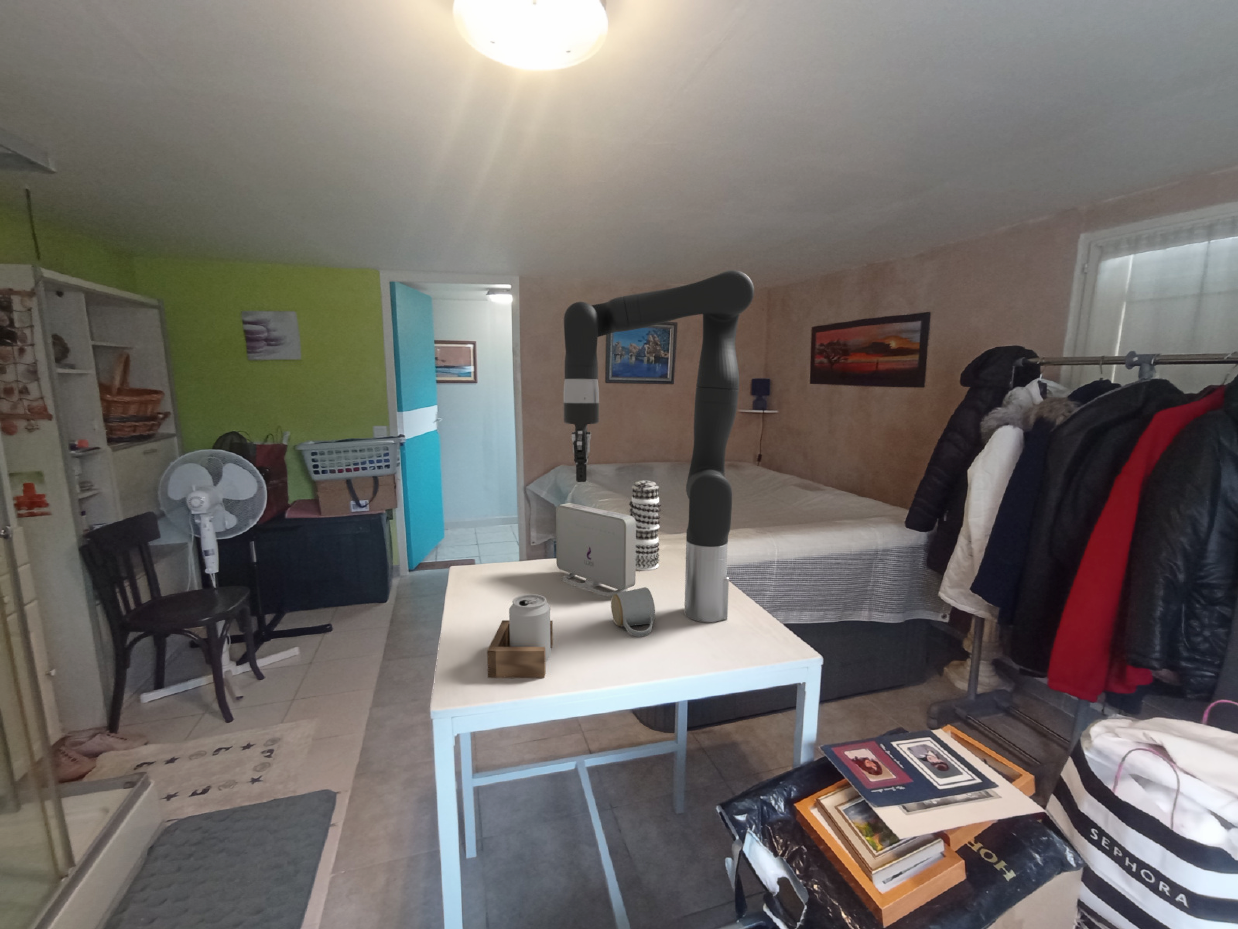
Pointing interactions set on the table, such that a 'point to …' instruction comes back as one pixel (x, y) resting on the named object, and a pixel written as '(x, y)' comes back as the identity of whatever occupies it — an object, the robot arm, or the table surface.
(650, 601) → the ceramic mug
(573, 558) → the network device
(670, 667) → the table surface
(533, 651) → the dock
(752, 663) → the table surface
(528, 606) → the can
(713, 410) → the robot arm
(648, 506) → the decorative candle
